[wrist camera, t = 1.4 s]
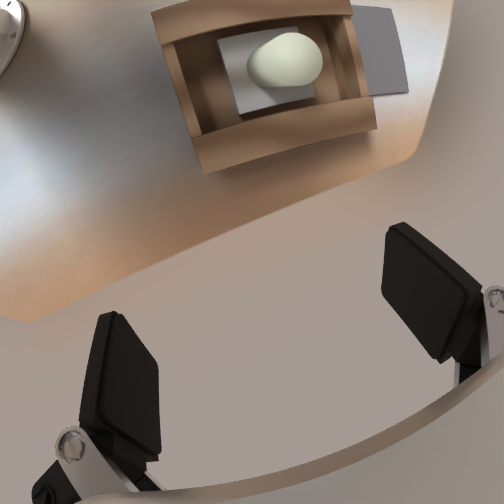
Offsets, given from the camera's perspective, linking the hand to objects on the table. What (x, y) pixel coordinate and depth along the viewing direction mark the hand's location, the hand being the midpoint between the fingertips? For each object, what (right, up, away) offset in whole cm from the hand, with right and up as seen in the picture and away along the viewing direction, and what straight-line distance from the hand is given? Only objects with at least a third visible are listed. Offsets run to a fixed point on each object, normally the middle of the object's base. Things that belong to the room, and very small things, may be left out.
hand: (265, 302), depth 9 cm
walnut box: (+1, +20, +16) cm, 26 cm away
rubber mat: (+15, +26, +16) cm, 34 cm away
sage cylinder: (+1, +19, +13) cm, 23 cm away
